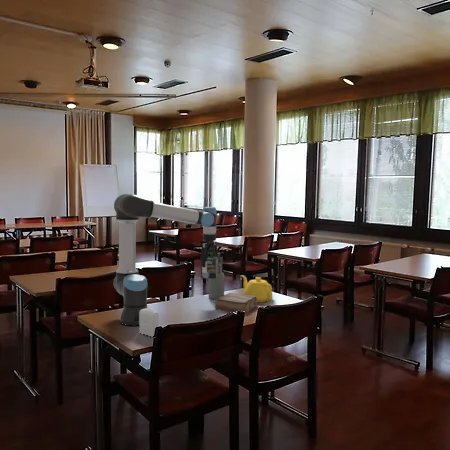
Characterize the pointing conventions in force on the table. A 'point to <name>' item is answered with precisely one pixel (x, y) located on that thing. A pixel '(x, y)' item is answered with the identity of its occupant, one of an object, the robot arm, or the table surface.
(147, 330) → the photo printer
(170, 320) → the table surface
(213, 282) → the water bottle
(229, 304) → the walnut stand
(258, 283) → the teapot
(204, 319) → the table surface
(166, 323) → the table surface
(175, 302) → the table surface
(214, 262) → the chalk box
